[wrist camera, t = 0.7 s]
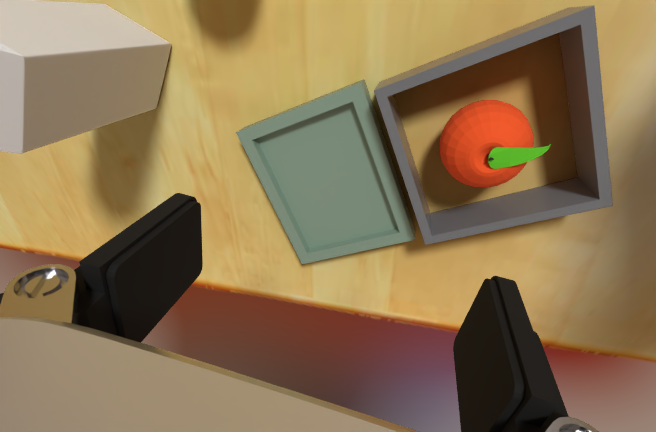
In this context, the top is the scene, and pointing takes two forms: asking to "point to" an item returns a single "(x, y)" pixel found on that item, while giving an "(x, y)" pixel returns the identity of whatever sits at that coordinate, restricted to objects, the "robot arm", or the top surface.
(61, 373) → the robot arm
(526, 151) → the clementine
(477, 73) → the top surface
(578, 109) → the open square sleeve
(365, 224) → the tray
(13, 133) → the milk carton
